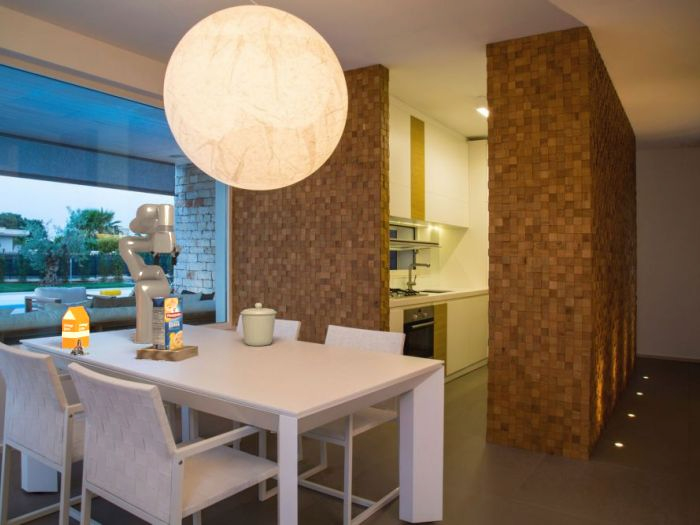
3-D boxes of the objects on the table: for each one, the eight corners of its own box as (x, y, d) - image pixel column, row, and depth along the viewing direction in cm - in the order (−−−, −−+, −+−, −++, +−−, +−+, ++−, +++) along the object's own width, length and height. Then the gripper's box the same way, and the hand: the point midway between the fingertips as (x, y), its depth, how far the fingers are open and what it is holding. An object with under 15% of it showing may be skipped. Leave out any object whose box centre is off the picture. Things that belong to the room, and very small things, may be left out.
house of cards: (58, 358, 237) (58, 340, 237) (72, 354, 246) (72, 337, 246) (75, 359, 235) (75, 341, 235) (89, 355, 243) (89, 338, 243)
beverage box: (152, 349, 235) (152, 298, 235) (170, 345, 245) (171, 296, 245) (164, 350, 232) (164, 298, 232) (182, 346, 242) (182, 297, 242)
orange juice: (61, 349, 257) (61, 307, 257) (76, 347, 265) (76, 305, 265) (75, 350, 254) (75, 307, 254) (89, 347, 263) (89, 306, 263)
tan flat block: (136, 359, 233) (136, 349, 233) (159, 353, 249) (159, 343, 249) (177, 361, 228) (177, 351, 228) (198, 355, 243) (198, 345, 243)
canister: (280, 342, 282) (280, 301, 282) (271, 348, 264) (271, 304, 264) (246, 341, 283) (246, 301, 283) (235, 347, 265) (235, 304, 265)
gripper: (145, 229, 262) (145, 264, 262) (176, 229, 257) (176, 265, 257) (155, 229, 269) (154, 264, 269) (185, 230, 264) (185, 265, 264)
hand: (165, 265), depth 263 cm, fingers open, 9 cm apart
